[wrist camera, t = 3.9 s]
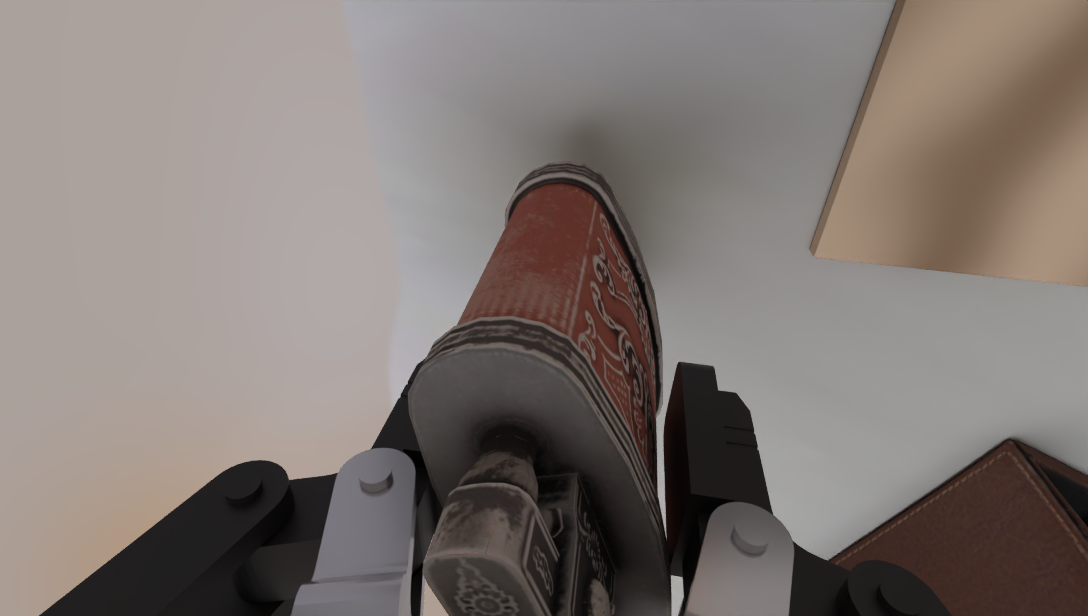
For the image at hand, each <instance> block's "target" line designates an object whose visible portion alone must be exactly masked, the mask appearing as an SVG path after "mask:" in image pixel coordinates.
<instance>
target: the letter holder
mask: <svg viewBox="0 0 1088 616" xmlns="http://www.w3.org/2000/svg"><path fill="white" fill-rule="evenodd" d="M867 560H880V561H886V562H889V563H893V564H895V565H898V566H900V567H902V568H904V569H906V570H908V571H909V572H911V573H913V574H914V575H916V576H917V577H918V578H920V579H921V580H922V581H923V582H924V583H925V584H926V585H928V586H929V587H930V588H931V589H932V591H933V592H934V593H935V594H936V595H937V597H938V598H939V599H940V601H941V602H942V603H943V605H944V606H945V607H946V608H947V610H948V611H949V612H950V614H951V615H952V616H1088V477H1087V476H1085V475H1083V474H1081V473H1079V472H1077V471H1075V470H1074V469H1072V468H1070V467H1068V466H1066V465H1064V464H1062V463H1061V462H1059V461H1057V460H1055V459H1053V458H1051V457H1049V456H1047V455H1045V454H1043V453H1041V452H1039V451H1037V450H1035V449H1033V448H1031V447H1029V446H1027V445H1024V444H1022V443H1020V442H1016V441H1013V440H1007V441H1005V442H1004V443H1003V444H1002V445H1001V446H1000V447H999V448H997V449H996V450H994V451H993V452H991V453H990V454H989V455H987V456H986V457H984V458H983V459H981V460H980V461H978V462H977V463H975V464H974V465H973V466H971V467H970V468H968V469H967V470H965V471H964V472H962V473H961V474H959V475H958V476H956V477H955V478H953V479H952V480H950V481H949V482H947V483H946V484H945V485H943V486H942V487H940V488H939V489H937V490H936V491H934V492H933V493H931V494H930V495H928V496H927V497H925V498H924V499H922V500H921V501H919V502H918V503H916V504H915V505H913V506H912V507H910V508H909V509H907V510H906V511H904V512H903V513H902V514H900V515H899V516H897V517H895V518H894V519H892V520H891V521H889V522H888V523H887V524H885V525H884V526H882V527H881V528H879V529H878V530H876V531H875V532H873V533H872V534H870V535H869V536H867V537H865V538H864V539H863V540H861V541H859V542H858V543H856V544H855V545H853V546H852V547H850V548H849V549H847V550H845V551H844V552H842V553H841V554H839V555H838V556H836V557H835V558H833V559H832V560H830V561H829V562H831V563H834V564H836V565H838V566H840V567H843V568H845V569H847V570H849V571H851V570H852V568H853V567H854V566H856V565H857V564H859V563H860V562H863V561H867Z"/></svg>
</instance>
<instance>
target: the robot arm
mask: <svg viewBox="0 0 1088 616" xmlns="http://www.w3.org/2000/svg"><path fill="white" fill-rule="evenodd" d="M425 359H426V358H425ZM425 359H424V360H423V361H421V362H420V363H419V364H418V365H417V366H416V368H415V370H414V371H413V373H412V375H411V377H410V379H409V381H408V385H406V386H405V388H404V390H403V392H402V393H401V397H400V398H399V399H398V401H397V403H396V404H395V406H394V408H393V410H392V412H391V414H390V415H389V417H388V419H387V421H386V423H385V425H384V427H383V428H382V430H381V432H380V434H379V436H378V437H377V439H376V441H375V443H374V445H373V446H372V448H371V449H370V450H367V451H364V452H361V453H359V454H358V455H355V456H354V457H352V458H351V459H350V460H348V461H347V462H346V463H345V464H344V465H343V467H342V468H341V469H340V471H339V472H338V473H335V474H332V475H326V476H319V477H311V478H302V479H294V480H289V479H288V475H287V473H286V471H285V470H284V469H283V468H282V467H281V466H279V465H278V464H276V463H273V462H270V461H262V460H258V461H250V462H244V463H241V464H238V465H236V466H233V467H231V468H229V469H227V470H225V471H224V472H222V473H221V474H219V475H218V476H217V477H215V478H214V479H213V480H211V481H210V482H209V483H208V484H206V485H205V486H204V487H203V488H201V489H200V490H199V491H197V492H196V493H195V494H194V495H192V496H191V497H190V498H189V499H187V500H186V501H185V502H183V503H182V504H181V505H179V506H178V507H177V508H176V509H174V510H173V511H172V512H171V513H169V514H168V515H167V516H165V517H164V518H163V519H162V520H160V521H159V522H158V523H157V524H155V525H154V526H153V527H152V528H150V529H149V530H148V531H146V532H145V533H144V534H143V535H141V536H140V537H139V538H137V539H136V540H135V541H134V542H133V543H131V544H130V545H129V546H127V547H126V548H125V549H124V550H122V551H121V552H120V553H118V554H117V555H116V556H115V557H113V558H112V559H111V560H109V561H108V562H107V563H106V564H104V565H103V566H102V567H100V568H99V569H98V570H97V571H95V572H94V573H93V574H92V575H90V576H89V577H88V578H86V579H85V580H84V581H83V582H81V583H80V584H79V585H78V586H76V587H75V588H74V589H73V590H71V591H70V592H69V593H67V594H66V595H65V596H64V597H62V598H61V599H60V600H58V601H57V602H56V603H55V604H53V605H52V606H51V607H50V608H48V609H47V610H46V611H44V612H43V613H42V614H41V615H39V616H423V609H424V608H423V607H424V591H425V577H424V575H423V573H422V570H423V565H424V561H425V557H426V554H427V551H428V549H429V546H430V543H431V540H432V538H433V535H434V534H435V531H436V528H437V525H438V522H439V520H440V517H441V514H442V511H443V507H442V505H441V503H440V501H439V499H438V497H437V495H436V493H435V491H434V489H433V486H432V484H431V481H430V477H429V474H428V471H427V468H426V465H425V462H424V459H423V456H422V452H421V449H420V446H419V443H418V440H417V437H416V434H415V430H414V427H413V424H412V421H411V418H410V415H409V404H408V392H409V390H410V388H411V386H412V384H413V382H414V380H415V378H416V376H417V374H418V372H419V370H420V368H421V367H422V365H423V363H424V361H425ZM757 447H758V445H757V441H756V436H755V434H754V427H753V423H752V418H751V414H750V410H749V409H748V408H747V406H746V405H745V404H744V402H743V401H742V400H741V399H740V397H739V396H738V395H737V393H734V392H726V391H719V390H718V387H717V381H716V375H715V369H714V367H713V366H708V365H701V364H693V363H685V362H679V363H678V365H677V368H676V372H675V376H674V381H673V385H672V390H671V394H670V399H669V403H668V407H667V412H666V417H665V425H664V471H665V502H666V533H667V545H668V551H669V556H670V572H671V575H674V576H679V577H683V588H684V598H683V601H682V604H681V607H680V610H679V614H678V616H952V615H951V614H950V612H949V611H948V610H947V608H946V607H945V606H944V605H943V603H942V602H941V601H940V599H939V598H938V597H937V595H936V594H935V593H934V592H933V591H932V589H931V588H930V587H929V586H928V585H926V584H925V583H924V582H923V581H922V580H921V579H920V578H918V577H917V576H916V575H914V574H913V573H911V572H909V571H908V570H906V569H904V568H902V567H900V566H898V565H895V564H893V563H889V562H886V561H880V560H867V561H863V562H860V563H859V564H857V565H856V566H854V567H853V568H852V570H851V571H849V570H847V569H845V568H843V567H840V566H838V565H836V564H834V563H831V562H829V561H827V560H824V559H822V558H820V557H818V556H815V555H813V554H811V553H809V552H808V551H806V550H804V549H803V548H801V547H800V546H798V545H797V544H796V543H795V542H793V541H792V538H791V536H790V534H789V532H788V531H787V529H786V528H785V526H784V525H783V524H782V523H781V522H780V521H779V520H778V519H777V518H776V517H775V516H774V515H773V512H772V509H771V505H770V500H769V495H768V491H767V486H766V482H765V477H764V473H763V468H762V464H761V459H760V454H759V450H757Z"/></svg>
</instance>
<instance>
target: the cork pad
mask: <svg viewBox="0 0 1088 616" xmlns="http://www.w3.org/2000/svg"><path fill="white" fill-rule="evenodd" d="M810 251H811V253H812V255H813V257H814V258H823V259H833V260H842V261H852V262H861V263H870V264H880V265H889V266H899V267H908V268H917V269H927V270H936V271H946V272H955V273H964V274H974V275H983V276H993V277H1002V278H1011V279H1021V280H1030V281H1040V282H1049V283H1058V284H1068V285H1077V286H1087V287H1088V0H897V2H896V4H895V7H894V10H893V13H892V16H891V19H890V22H889V24H888V27H887V30H886V33H885V36H884V39H883V42H882V44H881V47H880V50H879V53H878V56H877V59H876V62H875V64H874V67H873V70H872V73H871V76H870V79H869V82H868V84H867V87H866V90H865V93H864V96H863V99H862V102H861V104H860V107H859V110H858V113H857V116H856V119H855V122H854V124H853V127H852V130H851V133H850V136H849V139H848V142H847V144H846V147H845V150H844V153H843V156H842V159H841V162H840V164H839V167H838V170H837V173H836V176H835V179H834V182H833V184H832V187H831V190H830V193H829V196H828V199H827V202H826V204H825V207H824V210H823V213H822V216H821V219H820V222H819V224H818V227H817V230H816V233H815V236H814V239H813V242H812V244H811V247H810Z"/></svg>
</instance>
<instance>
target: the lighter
mask: <svg viewBox="0 0 1088 616" xmlns="http://www.w3.org/2000/svg"><path fill="white" fill-rule="evenodd" d="M408 404H409V415H410V418H411V421H412V424H413V427H414V430H415V434H416V437H417V440H418V443H419V446H420V449H421V452H422V456H423V459H424V462H425V465H426V468H427V471H428V474H429V477H430V481H431V484H432V486H433V489H434V491H435V493H436V495H437V497H438V499H439V501H440V503H441V505H442V507H443V511H442V514H441V517H440V520H439V522H438V525H437V528H436V531H435V534H434V536H433V539H432V542H431V545H430V547H429V550H428V553H427V556H426V558H425V561H424V565H423V570H422V573H423V575H424V577H425V579H426V581H427V583H428V585H429V586H430V588H431V589H432V591H433V592H434V594H435V595H436V597H437V598H438V600H439V601H440V603H441V604H442V606H443V607H444V609H445V610H446V612H447V613H448V615H449V616H671V572H670V556H669V551H668V545H667V540H666V535H665V530H664V525H663V519H662V514H661V509H660V504H659V499H658V491H657V440H656V417H657V416H658V415H659V414H660V411H661V408H662V404H663V360H662V339H661V333H660V326H659V320H658V313H657V307H656V301H655V294H654V290H653V287H652V284H651V281H650V278H649V275H648V272H647V269H646V266H645V263H644V260H643V257H642V254H641V251H640V248H639V245H638V242H637V239H636V237H635V235H634V233H633V231H632V229H631V227H630V225H629V222H628V220H627V218H626V216H625V214H624V212H623V210H622V208H621V206H620V204H619V202H618V200H617V198H616V196H615V194H614V192H613V189H612V187H611V186H610V185H609V183H608V182H607V181H606V179H605V178H604V177H603V176H602V174H600V173H598V172H597V171H595V170H593V169H592V168H590V167H588V166H586V165H582V164H577V163H572V162H560V163H550V164H547V165H545V166H543V167H540V168H538V169H536V170H533V171H532V172H531V173H530V174H529V175H527V176H526V177H525V178H524V179H523V180H522V181H521V182H520V183H519V185H518V187H517V189H516V191H515V193H514V194H513V196H512V198H511V200H510V202H509V204H508V206H507V208H506V213H505V230H504V232H503V234H502V236H501V238H500V240H499V242H498V244H497V246H496V248H495V250H494V252H493V254H492V256H491V258H490V260H489V262H488V264H487V266H486V268H485V270H484V272H483V274H482V276H481V278H480V280H479V282H478V284H477V286H476V288H475V290H474V292H473V294H472V296H471V298H470V300H469V302H468V304H467V306H466V308H465V310H464V312H463V314H462V316H461V318H460V320H459V322H458V324H457V326H454V327H453V328H451V329H450V330H449V331H448V332H446V333H445V334H444V335H443V336H441V337H440V338H439V339H438V340H436V341H435V342H434V344H433V346H432V348H431V350H430V352H429V353H428V355H427V357H426V359H425V361H424V363H423V365H422V367H421V368H420V370H419V372H418V374H417V376H416V378H415V380H414V382H413V384H412V386H411V388H410V390H409V392H408Z"/></svg>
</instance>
